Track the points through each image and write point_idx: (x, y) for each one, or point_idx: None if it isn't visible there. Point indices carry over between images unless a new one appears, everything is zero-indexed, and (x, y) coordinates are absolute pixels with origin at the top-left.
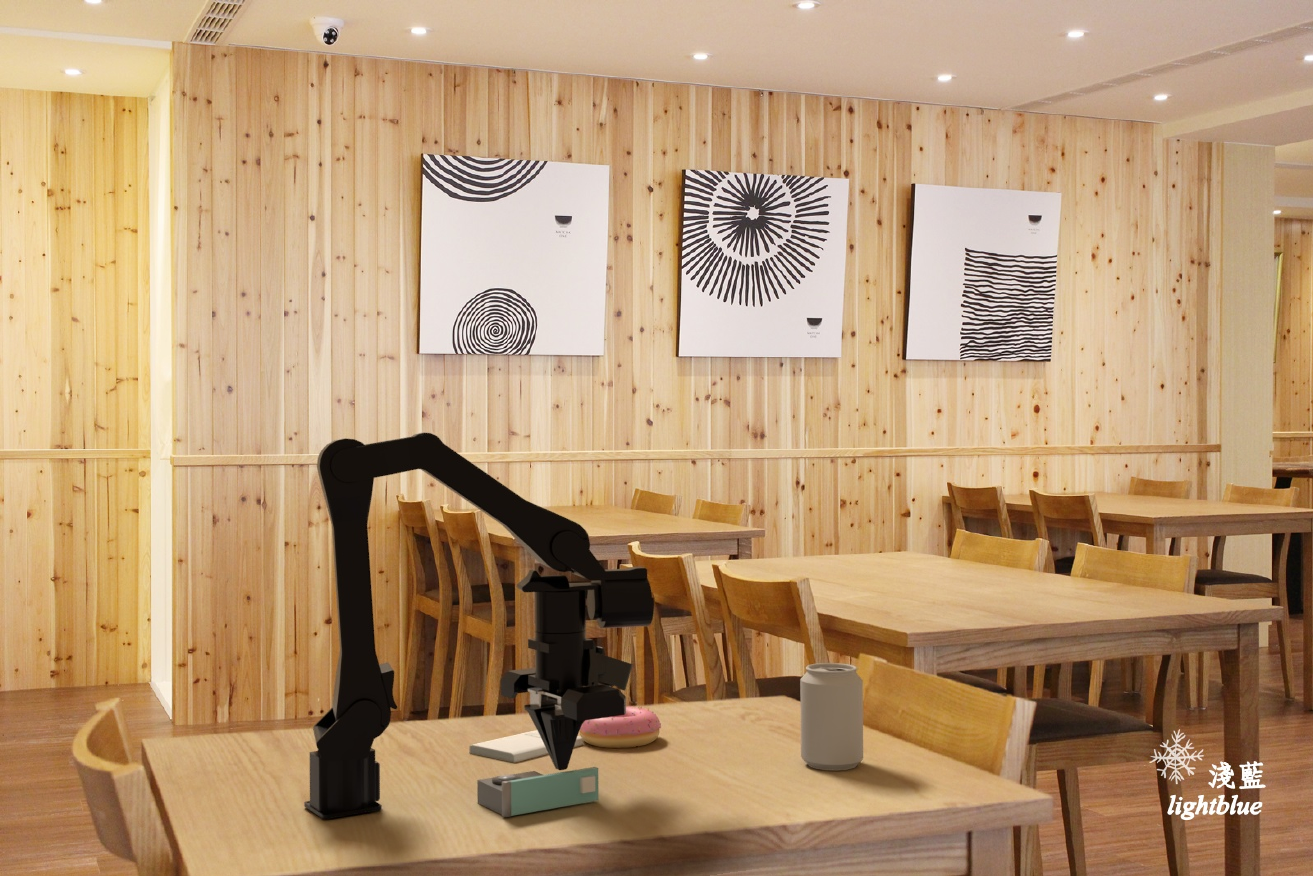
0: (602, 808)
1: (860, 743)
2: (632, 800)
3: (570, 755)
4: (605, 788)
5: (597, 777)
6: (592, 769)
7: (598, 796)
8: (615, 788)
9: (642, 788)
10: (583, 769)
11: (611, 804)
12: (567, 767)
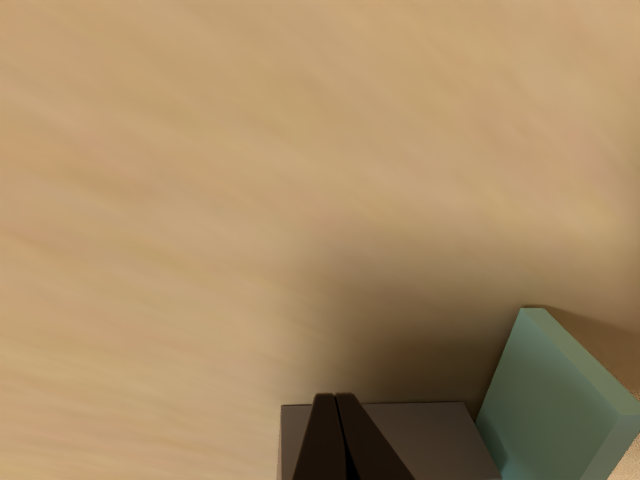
0: (595, 327)
1: None
2: (636, 190)
3: (393, 454)
4: (408, 167)
5: (610, 379)
6: (632, 435)
7: (551, 316)
8: (444, 127)
9: (558, 4)
10: (600, 466)
11: (594, 281)
12: (353, 395)
